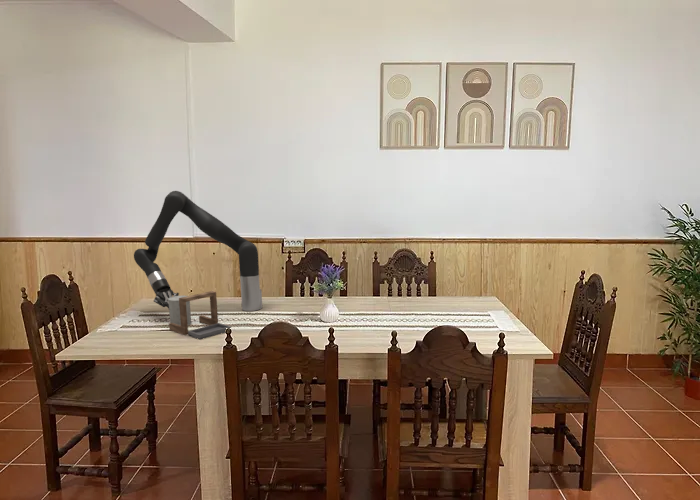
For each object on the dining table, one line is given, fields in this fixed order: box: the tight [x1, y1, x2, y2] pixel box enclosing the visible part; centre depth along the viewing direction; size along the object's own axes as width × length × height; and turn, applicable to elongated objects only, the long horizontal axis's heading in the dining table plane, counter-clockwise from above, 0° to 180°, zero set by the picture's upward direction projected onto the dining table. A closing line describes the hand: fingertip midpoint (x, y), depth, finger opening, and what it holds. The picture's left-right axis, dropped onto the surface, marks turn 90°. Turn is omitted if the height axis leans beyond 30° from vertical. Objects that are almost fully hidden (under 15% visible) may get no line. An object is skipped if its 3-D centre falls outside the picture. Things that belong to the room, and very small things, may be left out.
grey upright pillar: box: [168, 295, 192, 326], centre depth 288 cm, size 10×10×12 cm
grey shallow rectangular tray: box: [187, 322, 232, 340], centre depth 273 cm, size 16×9×2 cm, turn 136°
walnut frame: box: [168, 290, 219, 336], centre depth 280 cm, size 17×13×16 cm
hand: (174, 312), depth 292 cm, fingers closed
